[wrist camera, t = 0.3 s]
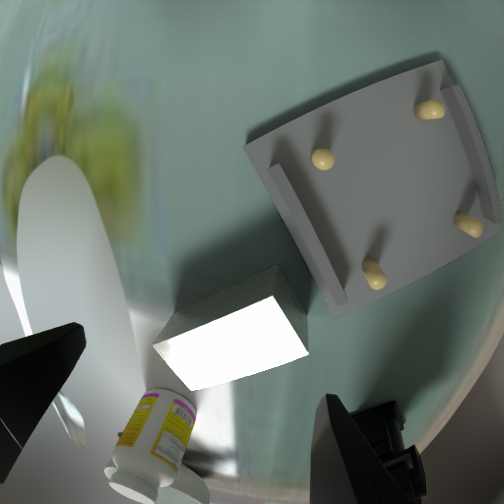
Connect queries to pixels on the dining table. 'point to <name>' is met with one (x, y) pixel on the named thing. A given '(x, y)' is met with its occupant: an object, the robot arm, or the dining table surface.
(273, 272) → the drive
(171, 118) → the dining table surface
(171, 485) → the cereal bowl
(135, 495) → the supplement bottle
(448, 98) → the tray
